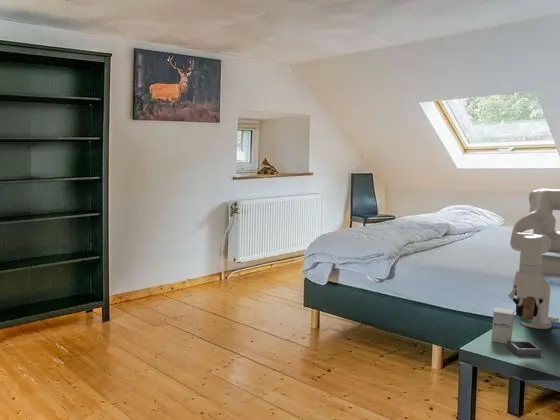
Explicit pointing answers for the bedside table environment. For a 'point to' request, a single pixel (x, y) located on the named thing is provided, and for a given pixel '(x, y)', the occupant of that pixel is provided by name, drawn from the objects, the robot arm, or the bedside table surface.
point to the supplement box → (502, 325)
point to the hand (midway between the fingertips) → (526, 315)
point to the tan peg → (527, 310)
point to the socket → (524, 348)
